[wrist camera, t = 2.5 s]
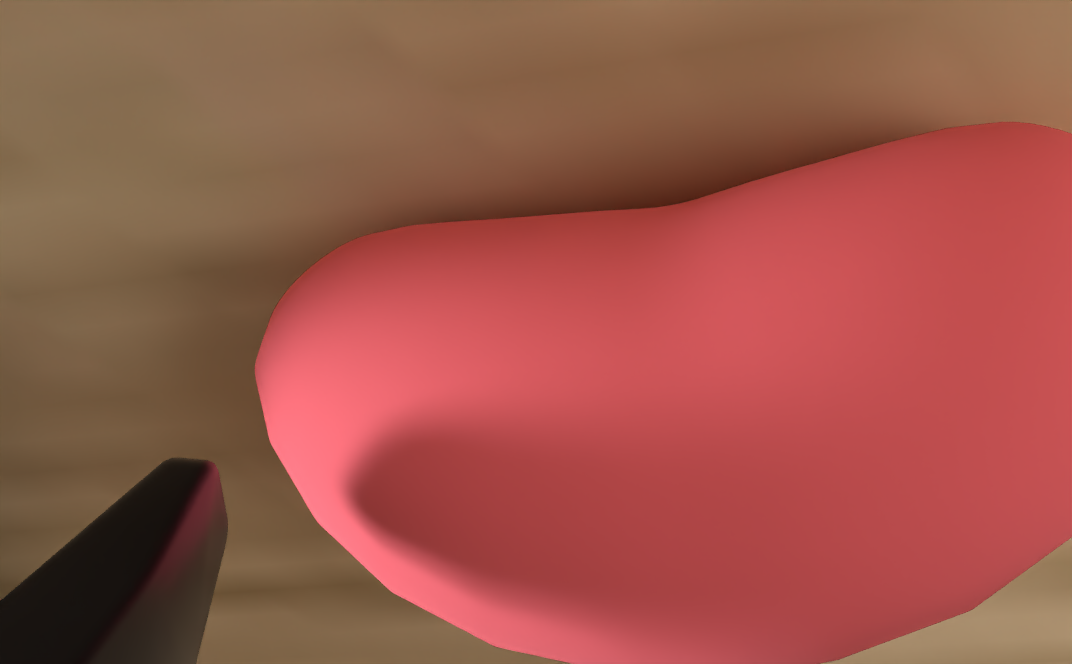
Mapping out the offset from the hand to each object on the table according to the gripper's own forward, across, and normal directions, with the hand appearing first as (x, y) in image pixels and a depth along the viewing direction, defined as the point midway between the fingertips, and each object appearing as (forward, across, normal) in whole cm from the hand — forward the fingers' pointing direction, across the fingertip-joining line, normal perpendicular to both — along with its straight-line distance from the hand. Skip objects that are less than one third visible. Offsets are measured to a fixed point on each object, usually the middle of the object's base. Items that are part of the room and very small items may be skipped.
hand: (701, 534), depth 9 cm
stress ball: (+4, 0, 0) cm, 4 cm away
